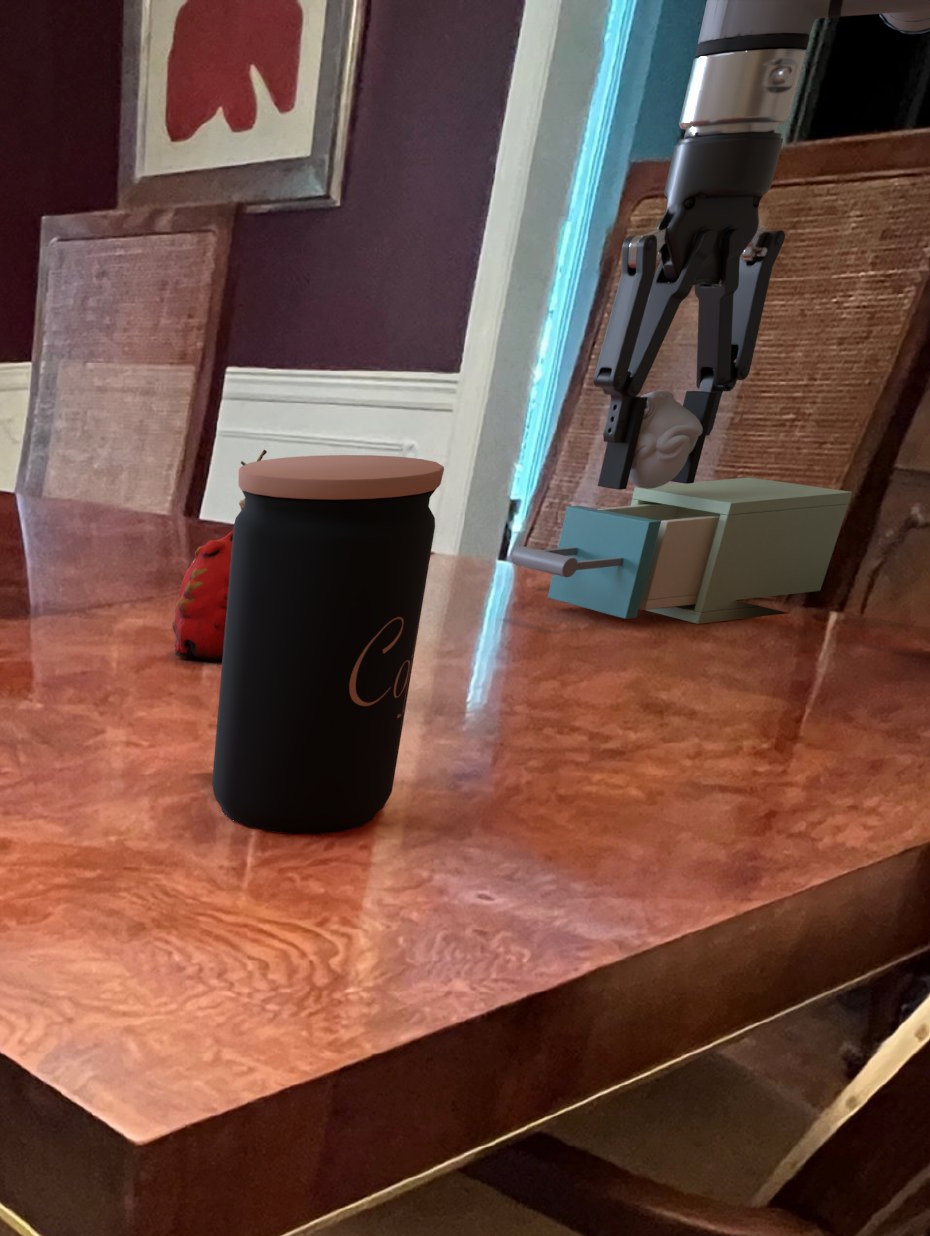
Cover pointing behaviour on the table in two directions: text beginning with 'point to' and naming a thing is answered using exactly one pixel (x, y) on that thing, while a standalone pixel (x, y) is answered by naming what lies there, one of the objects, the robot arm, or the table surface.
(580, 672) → the table surface
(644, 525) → the drawer
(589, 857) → the table surface
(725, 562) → the cabinet
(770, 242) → the robot arm
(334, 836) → the table surface
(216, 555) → the red clay folk toy
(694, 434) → the frog figurine
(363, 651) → the coffee jar
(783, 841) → the table surface
